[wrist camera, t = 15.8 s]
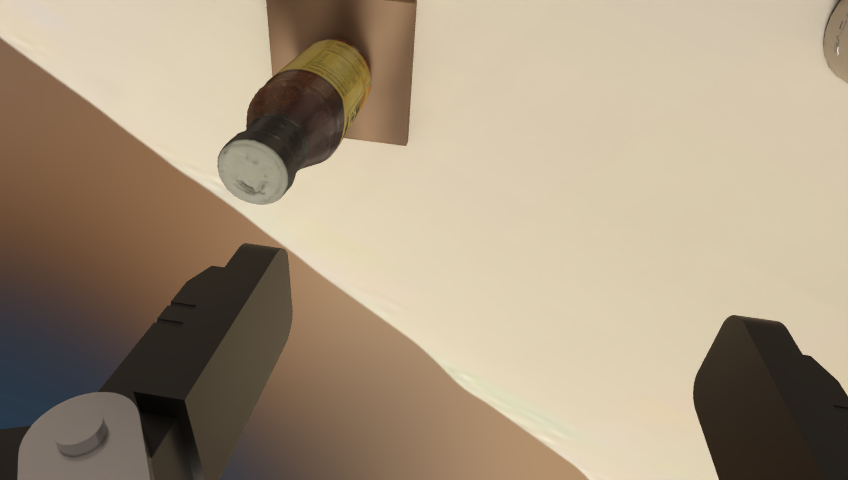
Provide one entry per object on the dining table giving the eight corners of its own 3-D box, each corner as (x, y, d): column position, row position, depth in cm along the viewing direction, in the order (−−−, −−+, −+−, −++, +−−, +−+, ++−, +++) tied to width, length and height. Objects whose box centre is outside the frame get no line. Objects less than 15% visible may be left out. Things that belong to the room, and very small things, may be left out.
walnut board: (416, 1, 43) (414, 3, 42) (407, 141, 50) (406, 145, 49) (269, -15, 44) (265, -13, 43) (280, 125, 51) (276, 129, 50)
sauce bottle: (330, 119, 49) (237, 243, 32) (289, 55, 46) (164, 155, 30) (392, 87, 46) (325, 202, 30) (352, 17, 44) (255, 103, 27)
